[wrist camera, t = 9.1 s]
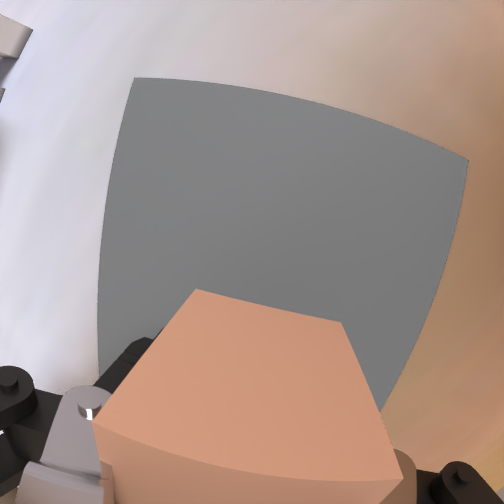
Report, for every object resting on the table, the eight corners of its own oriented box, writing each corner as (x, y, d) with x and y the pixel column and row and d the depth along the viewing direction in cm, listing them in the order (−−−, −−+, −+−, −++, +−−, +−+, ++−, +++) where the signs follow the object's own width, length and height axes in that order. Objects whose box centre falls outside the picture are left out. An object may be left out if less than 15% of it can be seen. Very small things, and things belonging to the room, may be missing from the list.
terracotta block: (195, 288, 9) (91, 421, 3) (340, 322, 9) (403, 478, 3) (179, 398, 10) (120, 527, 4) (298, 425, 10) (302, 563, 4)
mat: (135, 78, 13) (134, 77, 13) (466, 160, 12) (468, 160, 12) (102, 394, 17) (101, 395, 17) (351, 452, 17) (351, 454, 16)
